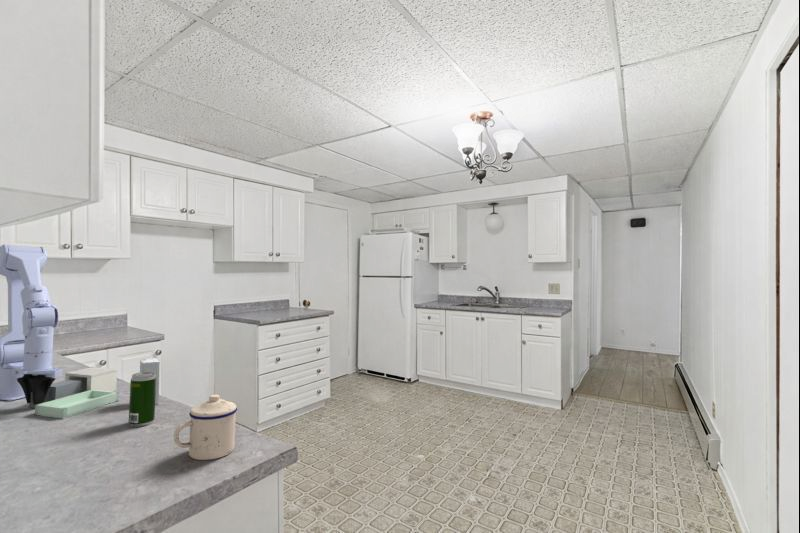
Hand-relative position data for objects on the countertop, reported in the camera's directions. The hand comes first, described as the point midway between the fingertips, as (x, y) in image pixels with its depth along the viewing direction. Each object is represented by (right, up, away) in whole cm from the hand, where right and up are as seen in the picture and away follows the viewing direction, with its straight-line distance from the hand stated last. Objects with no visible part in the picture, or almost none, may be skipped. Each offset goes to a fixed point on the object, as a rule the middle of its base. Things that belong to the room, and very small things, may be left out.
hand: (35, 402), depth 105 cm
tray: (+11, -2, +1) cm, 11 cm away
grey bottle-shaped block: (+1, -2, +5) cm, 5 cm away
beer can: (+34, -2, -8) cm, 35 cm away
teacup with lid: (+57, -3, -24) cm, 62 cm away
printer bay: (+3, -2, +15) cm, 15 cm away
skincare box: (+26, -3, +7) cm, 27 cm away
